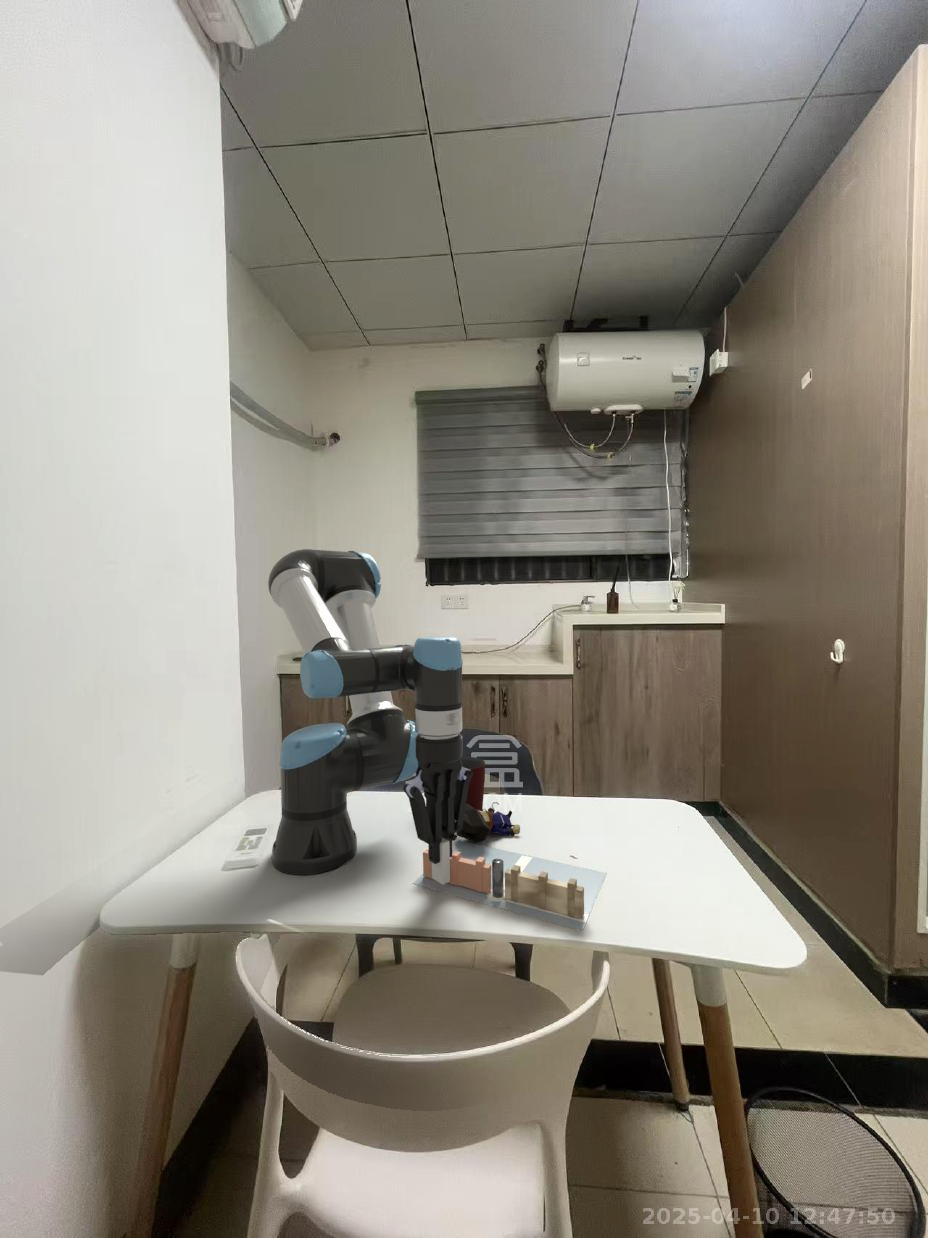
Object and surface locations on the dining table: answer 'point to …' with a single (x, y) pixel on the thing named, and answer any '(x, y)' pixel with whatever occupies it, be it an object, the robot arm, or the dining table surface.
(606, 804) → the dining table surface
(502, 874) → the hinge post
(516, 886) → the fixed panel
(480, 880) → the swing panel
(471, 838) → the toy
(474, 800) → the mug
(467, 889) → the card
